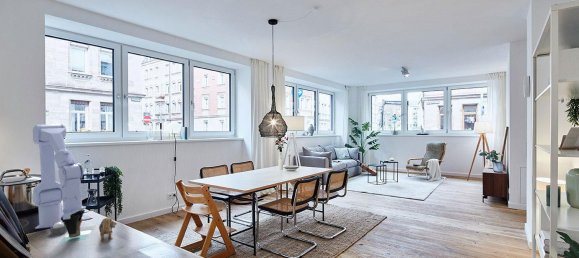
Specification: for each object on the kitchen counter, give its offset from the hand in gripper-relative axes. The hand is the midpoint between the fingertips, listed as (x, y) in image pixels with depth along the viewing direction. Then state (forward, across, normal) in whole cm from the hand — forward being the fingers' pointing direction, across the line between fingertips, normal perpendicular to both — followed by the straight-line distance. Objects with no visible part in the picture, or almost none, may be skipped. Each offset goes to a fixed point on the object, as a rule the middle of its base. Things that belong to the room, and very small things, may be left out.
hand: (74, 232), depth 114 cm
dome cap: (+2, +9, +8) cm, 12 cm away
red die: (+2, +18, +5) cm, 19 cm away
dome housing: (+2, +9, +8) cm, 12 cm away
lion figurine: (+3, -4, -12) cm, 13 cm away
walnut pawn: (+1, 0, 0) cm, 1 cm away
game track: (+2, +5, 0) cm, 6 cm away
